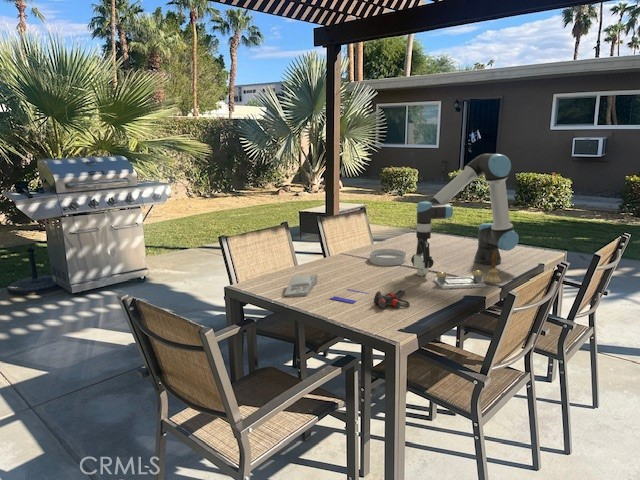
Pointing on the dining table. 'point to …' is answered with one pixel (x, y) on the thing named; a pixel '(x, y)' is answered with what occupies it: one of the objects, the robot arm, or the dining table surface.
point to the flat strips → (346, 299)
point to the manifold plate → (460, 280)
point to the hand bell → (493, 271)
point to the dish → (387, 257)
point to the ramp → (301, 285)
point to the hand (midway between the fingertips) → (422, 270)
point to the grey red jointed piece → (390, 300)
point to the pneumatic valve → (420, 263)
